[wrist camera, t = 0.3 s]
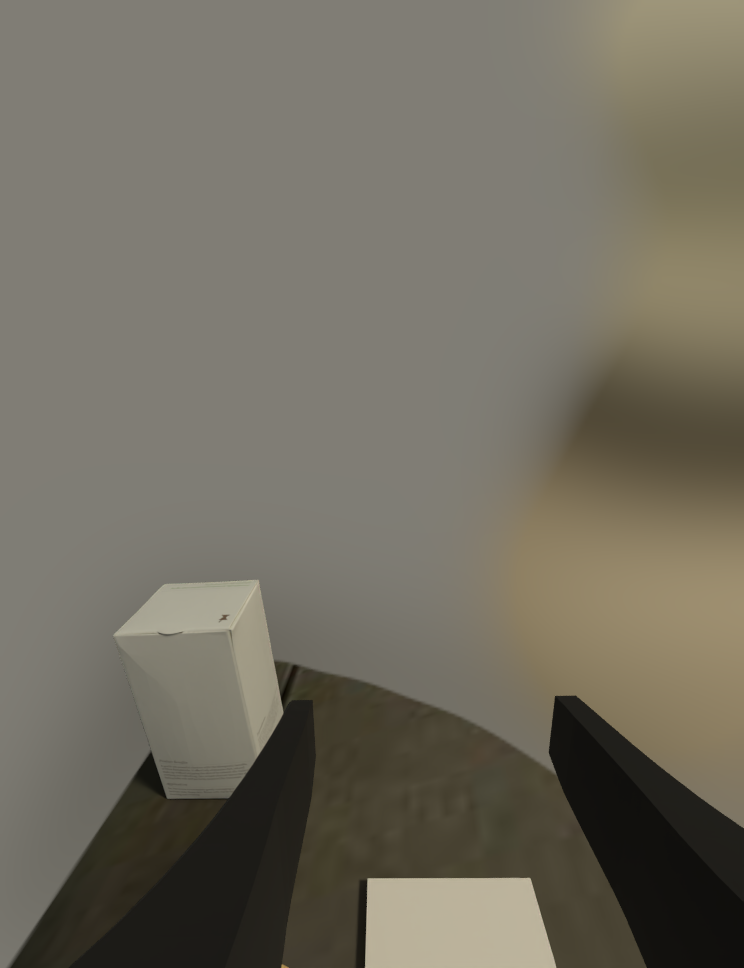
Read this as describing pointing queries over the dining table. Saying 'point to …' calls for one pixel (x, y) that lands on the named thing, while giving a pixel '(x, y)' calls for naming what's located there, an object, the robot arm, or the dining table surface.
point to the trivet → (455, 924)
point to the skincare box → (202, 683)
